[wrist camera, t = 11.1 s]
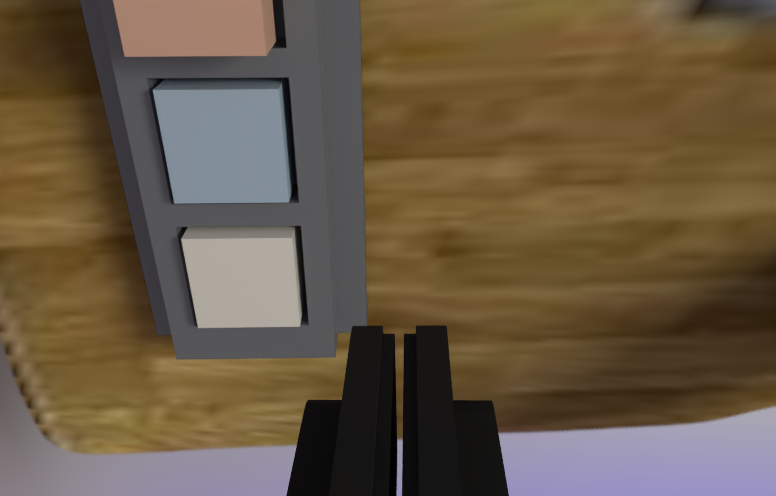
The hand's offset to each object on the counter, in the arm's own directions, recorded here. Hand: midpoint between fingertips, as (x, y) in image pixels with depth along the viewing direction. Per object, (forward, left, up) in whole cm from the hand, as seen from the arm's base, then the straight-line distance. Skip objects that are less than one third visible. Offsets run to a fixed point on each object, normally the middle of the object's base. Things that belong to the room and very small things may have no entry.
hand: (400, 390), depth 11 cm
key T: (+4, +5, -18) cm, 19 cm away
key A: (-1, +10, -18) cm, 20 cm away
